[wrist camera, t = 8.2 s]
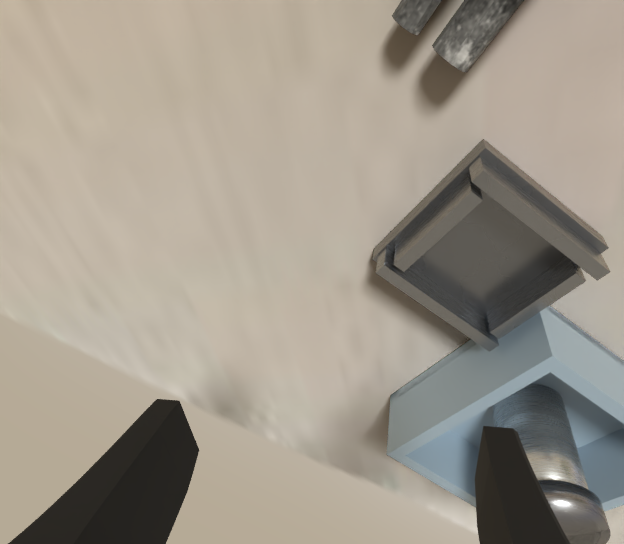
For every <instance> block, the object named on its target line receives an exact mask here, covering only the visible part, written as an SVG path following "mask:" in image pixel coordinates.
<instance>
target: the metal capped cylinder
mask: <svg viewBox="0 0 624 544" xmlns="http://www.w3.org/2000/svg"><path fill="white" fill-rule="evenodd" d="M492 412H493V420H494V427H503V428H513V429H514V430H516V431H517V432H518V435H519V438H520V440H521V443H522V445H523V448H524V450H525V453H526V455H527V458H528V460H529V462H530V465H531V467H532V469H533V471H534V473H535V476H536V478H537V480H538V482H539V484H540V486H541V488H542V490H543V492H544V494H545V497H546V499H547V501H548V503H549V504H550V506H551V508H552V510H553V512H554V514H555V516H556V518H557V520H558V522H559V524H560V525H561V527H562V529H563V531H564V533H565V535H566V537H567V539H568V540H569V542H570V544H606V543H607V542H608V540H609V538H610V529H609V526H608V523H607V520H606V516H605V513H604V510H603V506H602V503H601V501H600V499H599V498H598V497H597V495H595V494H594V493H593V492H592V491H590V490H589V488H588V485H587V482H586V478H585V475H584V471H583V468H582V464H581V461H580V457H579V454H578V450H577V447H576V443H575V440H574V436H573V433H572V429H571V426H570V422H569V419H568V416H567V412H566V409H565V405H564V402H563V399H562V397H561V395H560V394H559V393H558V392H557V391H555V390H554V389H552V388H550V387H547V386H545V385H541V384H534V383H531V384H529V385H527V386H525V387H524V388H522V389H520V390H519V391H517V392H515V393H513V394H512V395H510V396H508V397H506V398H505V399H503V400H501V401H499V402H498V403H496V404H494V405H492Z"/></svg>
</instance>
